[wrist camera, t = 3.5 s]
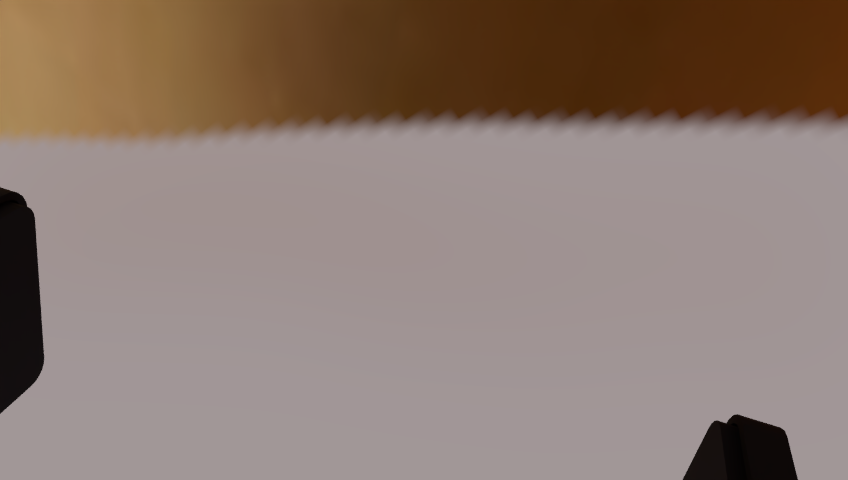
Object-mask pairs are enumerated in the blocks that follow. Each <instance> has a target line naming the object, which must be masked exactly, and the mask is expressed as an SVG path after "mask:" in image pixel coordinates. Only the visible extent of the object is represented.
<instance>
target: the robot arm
mask: <svg viewBox="0 0 848 480" xmlns="http://www.w3.org/2000/svg"><path fill="white" fill-rule="evenodd" d="M43 352H44V350H43V335H42V321H41V305H40V290H39V275H38V259H37V245H36V229H35V217H34V213H33V211H32V210H31V209H30V208H28V207H27V204H26V201H25V199H24V198H23V196H22V195H20V194H19V193H17V192H13V191H10V190H7V189H3V188H0V413H1V412H3V411H4V410H5V409H6V408H7V407H8V406H9V405H10V404H12V402H14V401H15V400H16V399H17V398H18V397H19V396H20V395H21V394H23V393H24V392H25V391H26V390H27V389H28V388H29V387H30V386H31V385H32V384H33V383H34V382H35V381H36V380H37V378H38V376H39V375H40V373H41V370H42V367H43V364H44V353H43ZM683 480H798V479H797V475H796V471H795V467H794V462H793V458H792V454H791V450H790V446H789V443H788V438H787V435H786V433H785V431H784V430H783V429H781V428H780V427H776V426H773V425H770V424H767V423H763V422H760V421H757V420H753V419H750V418H747V417H744V416H741V415H733V416H732V417H731V418H730V419H729V420H728V422H727V424H726V423H723V422H720V421H714V422H713V423H712V424H711V426H710V427H709V429H708V431H707V433H706V435H705V437H704V439H703V441H702V443H701V445H700V447H699V449H698V450H697V452H696V454H695V457H694V458H693V460H692V462H691V464H690V466H689V468H688V471H687V472H686V474H685V476H684V478H683Z"/></svg>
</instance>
